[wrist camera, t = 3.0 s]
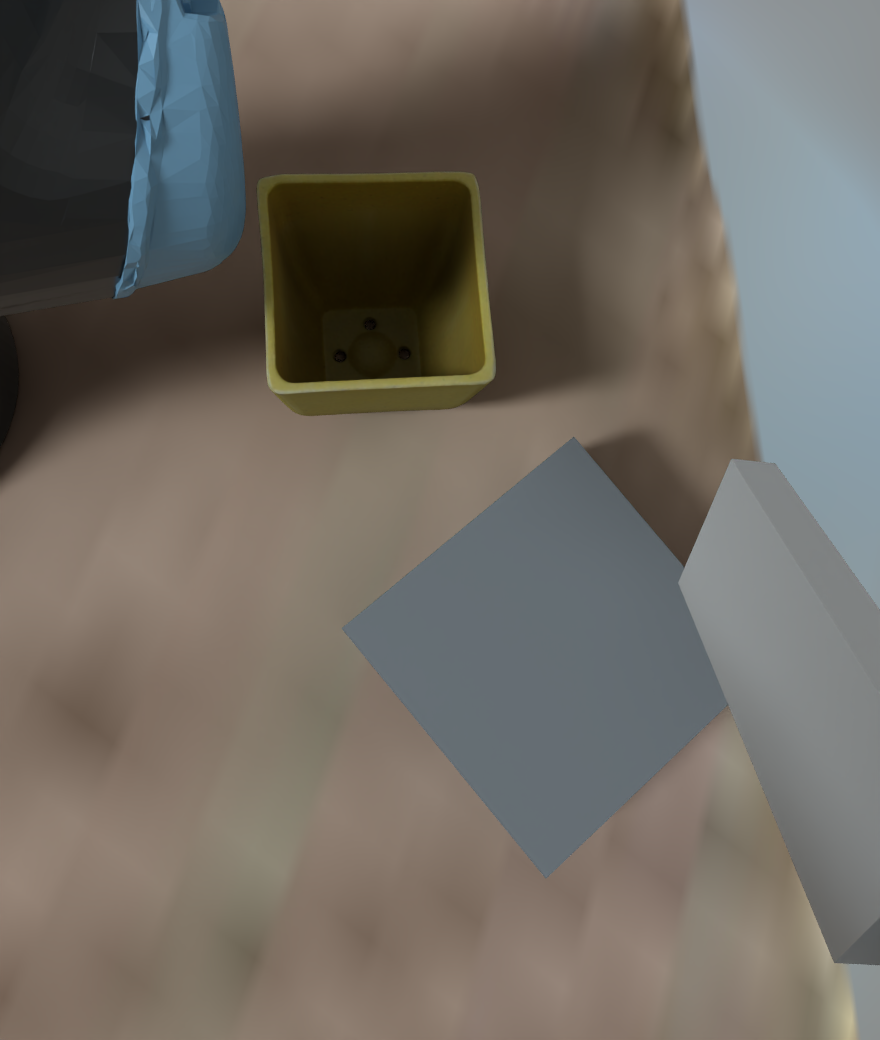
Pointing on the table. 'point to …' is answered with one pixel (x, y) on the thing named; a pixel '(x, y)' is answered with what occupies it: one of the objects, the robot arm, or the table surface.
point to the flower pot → (374, 291)
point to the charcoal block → (548, 654)
